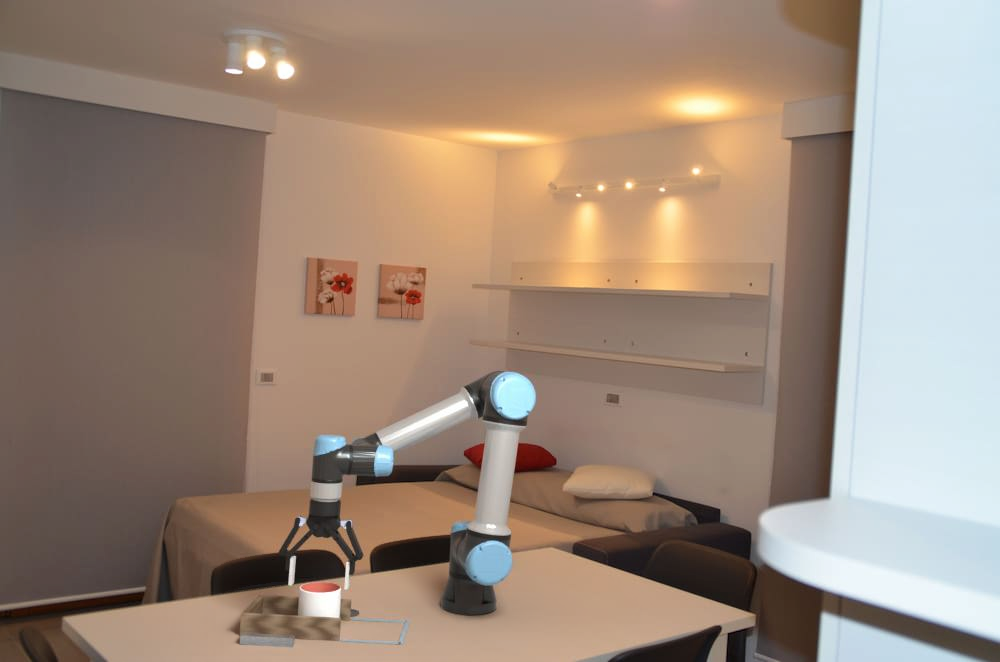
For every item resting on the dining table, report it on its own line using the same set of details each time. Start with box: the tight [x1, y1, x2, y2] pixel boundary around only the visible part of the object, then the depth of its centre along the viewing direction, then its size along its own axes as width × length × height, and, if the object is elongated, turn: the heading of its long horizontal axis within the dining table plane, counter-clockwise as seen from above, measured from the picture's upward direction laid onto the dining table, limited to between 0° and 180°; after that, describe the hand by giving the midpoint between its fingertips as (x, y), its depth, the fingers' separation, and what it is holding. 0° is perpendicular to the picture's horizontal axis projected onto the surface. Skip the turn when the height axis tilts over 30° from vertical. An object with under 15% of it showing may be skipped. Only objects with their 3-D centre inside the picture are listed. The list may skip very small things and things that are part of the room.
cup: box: [298, 581, 342, 618], centre depth 211 cm, size 10×10×10 cm
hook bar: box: [239, 630, 296, 648], centre depth 199 cm, size 12×4×2 cm, turn 90°
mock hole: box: [350, 608, 360, 618], centre depth 224 cm, size 6×6×1 cm
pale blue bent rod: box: [340, 617, 410, 646], centre depth 211 cm, size 14×17×1 cm
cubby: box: [239, 594, 352, 642], centre depth 211 cm, size 23×16×5 cm
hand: (318, 586), depth 211 cm, fingers open, 13 cm apart
